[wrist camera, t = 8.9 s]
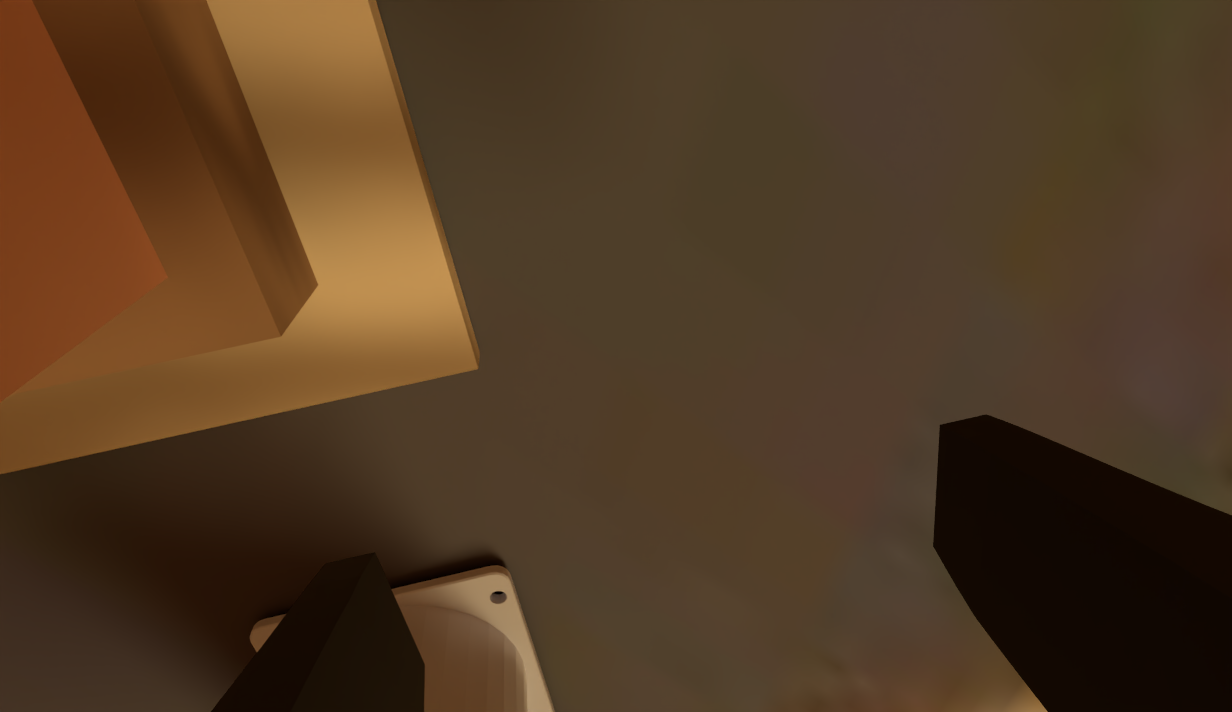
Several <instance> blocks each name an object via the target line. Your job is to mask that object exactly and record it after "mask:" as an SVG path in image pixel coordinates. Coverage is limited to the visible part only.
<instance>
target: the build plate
mask: <svg viewBox="0 0 1232 712" xmlns="http://www.w3.org/2000/svg"><path fill="white" fill-rule="evenodd" d="M206 1H207V3H208V6H209V9H210V11H211V14H212V16H213V19H214V21H215V24H216V26H217V29H218V31H219V34H220V36H221V39H222V42H223V44H224V47H225V49H226V52H227V54H228V57H229V59H230V62H231V64H232V67H233V69H234V72H235V75H236V77H237V80H238V82H239V85H240V87H241V90H242V92H243V95H244V97H245V100H246V102H247V105H248V108H249V110H250V113H251V115H252V118H253V120H254V123H255V125H256V128H257V130H258V133H259V136H260V138H261V141H262V143H263V146H264V148H265V151H266V153H267V156H268V158H269V161H270V163H271V166H272V169H273V171H274V174H275V176H276V179H277V181H278V184H279V186H280V189H281V191H282V194H283V196H284V199H285V202H286V204H287V207H288V209H289V212H290V214H291V217H292V219H293V222H294V224H295V227H296V229H297V232H298V235H299V237H300V240H301V242H302V245H303V247H304V250H305V252H306V255H307V257H308V260H309V262H310V265H311V268H312V270H313V273H314V275H315V278H316V280H317V283H318V286H317V288H316V289H315V291H314V292H313V293H312V295H311V296H310V297H309V299H308V300H307V302H306V303H305V304H304V306H303V307H302V308H301V310H300V311H299V313H298V314H297V315H296V317H295V318H294V320H293V321H292V322H291V324H290V325H289V326H288V328H287V329H286V331H285V332H284V333H283V335H282V336H281V337H277V338H273V339H268V340H263V341H259V342H254V343H249V344H245V345H240V346H236V347H231V348H226V349H222V350H217V351H212V352H208V353H203V354H198V355H194V356H189V357H184V358H180V359H175V360H170V361H166V362H161V363H157V364H152V365H147V366H143V367H138V368H133V369H129V370H124V371H119V372H115V373H110V374H105V375H101V376H96V377H91V378H87V379H82V380H78V381H73V382H68V383H64V384H59V385H54V386H50V387H45V388H40V389H36V390H31V391H26V392H22V393H17V394H12V395H10V396H8V397H7V398H5V399H4V400H3V401H1V402H0V474H4V473H9V472H13V471H18V470H22V469H27V468H31V467H36V466H40V465H45V464H49V463H54V462H59V461H63V460H68V459H72V458H77V457H81V456H86V455H90V454H95V453H99V452H104V451H108V450H113V449H117V448H122V447H126V446H131V445H136V444H140V443H145V442H149V441H154V440H158V439H163V438H167V437H172V436H176V435H181V434H185V433H190V432H194V431H199V430H204V429H208V428H213V427H217V426H222V425H226V424H231V423H235V422H240V421H244V420H249V419H253V418H258V417H262V416H267V415H272V414H276V413H281V412H285V411H290V410H294V409H299V408H303V407H308V406H312V405H317V404H321V403H326V402H330V401H335V400H339V399H344V398H349V397H353V396H358V395H362V394H367V393H371V392H376V391H380V390H385V389H389V388H394V387H398V386H403V385H407V384H412V383H417V382H421V381H426V380H430V379H435V378H439V377H444V376H448V375H453V374H457V373H462V372H466V371H471V370H475V369H478V367H479V354H480V352H479V348H478V345H477V342H476V338H475V335H474V331H473V328H472V325H471V321H470V318H469V314H468V311H467V308H466V304H465V301H464V297H463V294H462V291H461V287H460V284H459V281H458V277H457V274H456V270H455V267H454V264H453V260H452V257H451V253H450V250H449V247H448V243H447V240H446V236H445V233H444V230H443V226H442V223H441V220H440V216H439V213H438V209H437V206H436V203H435V199H434V196H433V192H432V189H431V186H430V182H429V179H428V176H427V172H426V169H425V165H424V162H423V159H422V155H421V152H420V148H419V145H418V142H417V138H416V135H415V131H414V128H413V125H412V121H411V118H410V115H409V111H408V108H407V104H406V101H405V98H404V94H403V91H402V87H401V84H400V81H399V77H398V74H397V70H396V67H395V64H394V60H393V57H392V54H391V50H390V47H389V43H388V40H387V37H386V33H385V30H384V26H383V23H382V20H381V16H380V13H379V9H378V6H377V3H376V0H206Z"/></svg>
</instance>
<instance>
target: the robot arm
mask: <svg viewBox="0 0 1232 712" xmlns="http://www.w3.org/2000/svg"><path fill="white" fill-rule="evenodd" d="M933 547H934V548H935V550H936V552H937V554H938V555H939V557H940V559H941V561H942V562H943V564H944V566H945V568H946V569H947V571H948V573H949V574H950V576H951V578H952V580H953V581H954V583H955V585H956V587H957V588H958V590H959V591H960V593H961V595H962V596H963V598H964V600H965V601H966V603H967V604H968V606H969V608H970V609H971V611H972V612H973V614H974V616H975V617H976V619H977V620H978V621H979V623H980V624H981V625H982V627H983V628H984V629H985V631H986V632H987V633H988V635H989V636H990V637H991V639H992V640H993V641H994V643H995V644H996V645H997V647H998V648H999V649H1000V650H1001V652H1002V653H1003V654H1004V656H1005V657H1006V658H1007V660H1008V661H1009V662H1010V663H1011V665H1012V666H1013V667H1014V669H1015V670H1016V671H1017V673H1018V674H1019V675H1020V677H1021V678H1022V679H1023V680H1024V682H1025V683H1026V684H1027V686H1028V687H1029V688H1030V689H1031V691H1032V692H1033V693H1034V694H1035V696H1036V697H1037V698H1038V700H1039V701H1040V702H1041V703H1042V705H1043V706H1044V707H1045V709H1046V710H1047V711H1048V712H1232V515H1229V514H1227V513H1224V512H1222V511H1219V510H1216V509H1214V508H1211V507H1209V506H1206V505H1204V504H1201V503H1199V502H1197V501H1194V500H1192V499H1189V498H1187V497H1184V496H1182V495H1179V494H1177V493H1175V492H1172V491H1170V490H1167V489H1165V488H1162V487H1160V486H1158V485H1155V484H1153V483H1150V482H1148V481H1146V480H1143V479H1141V478H1139V477H1136V476H1134V475H1132V474H1129V473H1127V472H1124V471H1122V470H1120V469H1117V468H1115V467H1113V466H1110V465H1108V464H1106V463H1103V462H1101V461H1099V460H1096V459H1094V458H1092V457H1089V456H1087V455H1085V454H1082V453H1080V452H1078V451H1075V450H1073V449H1071V448H1068V447H1066V446H1064V445H1061V444H1059V443H1057V442H1054V441H1052V440H1050V439H1047V438H1045V437H1042V436H1040V435H1038V434H1035V433H1033V432H1030V431H1028V430H1026V429H1023V428H1021V427H1018V426H1016V425H1013V424H1011V423H1008V422H1005V421H1003V420H1000V419H997V418H995V417H992V416H989V415H982V416H977V417H973V418H969V419H964V420H960V421H955V422H951V423H946V424H942V425H940V433H939V451H938V470H937V488H936V506H935V524H934V542H933ZM496 591H502V592H504V593H502V594H497V595H496V594H494V593H493V592H496ZM249 638H250V642H251V644H252V645H253V647H254V649H255V650H256V652H257V653H256V655H255V656H254V657H253V658H252V660H251V661H250V662H249V664H248V665H247V666H246V667H245V669H244V670H243V671H242V673H241V674H240V675H239V676H238V678H237V679H236V680H235V682H234V683H233V684H232V685H231V687H230V688H229V689H228V691H227V692H226V693H225V694H224V696H223V697H222V698H221V700H220V701H219V702H218V703H217V705H216V706H215V707H214V709H213V710H212V711H211V712H555V710H554V707H553V704H552V701H551V698H550V695H549V691H548V688H547V685H546V682H545V679H544V676H543V673H542V670H541V667H540V664H539V661H538V658H537V655H536V652H535V648H534V645H533V642H532V639H531V636H530V633H529V630H528V627H527V624H526V621H525V618H524V615H523V612H522V609H521V605H520V602H519V599H518V596H517V593H516V590H515V587H514V584H513V581H512V578H511V575H510V573H509V571H508V570H507V569H506V568H504V567H502V566H498V565H494V566H487V567H483V568H479V569H475V570H470V571H466V572H462V573H458V574H453V575H449V576H445V577H441V578H436V579H432V580H428V581H424V582H419V583H415V584H411V585H407V586H402V587H398V588H394V589H391V587H390V585H389V583H388V580H387V578H386V576H385V574H384V571H383V569H382V567H381V565H380V562H379V560H378V558H377V556H376V553H375V552H374V553H370V554H366V555H361V556H357V557H352V558H348V559H343V560H339V561H334V562H330V563H326V564H325V565H324V566H323V567H322V569H321V570H320V571H319V572H318V574H317V575H316V576H315V577H314V578H313V580H312V581H311V582H310V584H309V585H308V586H307V587H306V589H305V590H304V591H303V593H302V594H301V595H300V597H299V598H298V599H297V600H296V602H295V603H294V604H293V606H292V607H291V608H290V610H289V611H288V612H287V614H283V615H279V616H275V617H271V618H266V619H263V620H260V621H258V622H257V623H256V624H255V625H254V627H253V629H252V631H251V634H250V637H249Z"/></svg>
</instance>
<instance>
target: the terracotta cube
mask: <svg viewBox="0 0 1232 712" xmlns="http://www.w3.org/2000/svg"><path fill="white" fill-rule="evenodd" d="M167 278H168V276H167V274H166V272H165V270H164V268H163V266H162V264H161V262H160V260H159V258H158V256H157V254H156V252H155V250H154V248H153V246H152V244H151V242H150V240H149V237H148V235H147V233H146V231H145V229H144V227H143V225H142V223H141V221H140V219H139V217H138V215H137V213H136V211H135V209H134V207H133V205H132V203H131V201H130V199H129V197H128V195H127V193H126V191H125V189H124V187H123V185H122V183H121V180H120V178H119V176H118V174H117V172H116V170H115V168H114V166H113V164H112V162H111V160H110V158H109V156H108V154H107V152H106V150H105V148H104V146H103V144H102V142H101V140H100V138H99V136H98V134H97V132H96V130H95V128H94V125H93V123H92V121H91V119H90V117H89V115H88V113H87V111H86V109H85V107H84V105H83V103H82V101H81V99H80V97H79V95H78V93H77V91H76V89H75V87H74V85H73V83H72V81H71V79H70V77H69V75H68V73H67V71H66V68H65V66H64V64H63V62H62V60H61V58H60V56H59V54H58V52H57V50H56V48H55V46H54V44H53V42H52V40H51V38H50V36H49V34H48V32H47V30H46V28H45V26H44V24H43V22H42V20H41V18H40V16H39V14H38V11H37V9H36V7H35V5H34V3H33V1H32V0H0V402H1V401H3V400H4V399H5V398H7V397H8V396H10V395H11V394H12V393H14V392H15V391H16V390H18V389H19V388H20V387H22V386H23V385H24V384H26V383H27V382H28V381H30V380H31V379H32V378H34V377H35V376H36V375H38V374H39V373H40V372H42V371H43V370H44V369H46V368H47V367H48V366H50V365H51V364H52V363H54V362H55V361H56V360H58V359H59V358H61V357H62V356H63V355H65V354H66V353H67V352H69V351H70V350H71V349H73V348H74V347H75V346H77V345H78V344H79V343H81V342H82V341H83V340H85V339H86V338H87V337H89V336H90V335H91V334H93V333H94V332H95V331H97V330H98V329H99V328H101V327H102V326H103V325H105V324H106V323H107V322H109V321H110V320H112V319H113V318H114V317H116V316H117V315H118V314H120V313H121V312H122V311H124V310H125V309H126V308H128V307H129V306H130V305H132V304H133V303H134V302H136V301H137V300H138V299H140V298H141V297H142V296H144V295H145V294H146V293H148V292H149V291H150V290H152V289H153V288H154V287H156V286H157V285H158V284H160V283H161V282H163V281H164V280H165V279H167Z"/></svg>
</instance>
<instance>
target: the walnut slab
mask: <svg viewBox="0 0 1232 712" xmlns="http://www.w3.org/2000/svg"><path fill="white" fill-rule="evenodd" d="M32 1H33V3H34V5H35V7H36V9H37V11H38V14H39V16H40V18H41V20H42V22H43V24H44V26H45V28H46V30H47V32H48V34H49V36H50V38H51V40H52V42H53V44H54V46H55V48H56V50H57V52H58V54H59V56H60V58H61V60H62V62H63V64H64V66H65V68H66V71H67V73H68V75H69V77H70V79H71V81H72V83H73V85H74V87H75V89H76V91H77V93H78V95H79V97H80V99H81V101H82V103H83V105H84V107H85V109H86V111H87V113H88V115H89V117H90V119H91V121H92V123H93V125H94V128H95V130H96V132H97V134H98V136H99V138H100V140H101V142H102V144H103V146H104V148H105V150H106V152H107V154H108V156H109V158H110V160H111V162H112V164H113V166H114V168H115V170H116V172H117V174H118V176H119V178H120V180H121V183H122V185H123V187H124V189H125V191H126V193H127V195H128V197H129V199H130V201H131V203H132V205H133V207H134V209H135V211H136V213H137V215H138V217H139V219H140V221H141V223H142V225H143V227H144V229H145V231H146V233H147V235H148V237H149V240H150V242H151V244H152V246H153V248H154V250H155V252H156V254H157V256H158V258H159V260H160V262H161V264H162V266H163V268H164V270H165V272H166V274H167V276H168V278H167V279H165V280H164V281H163V282H161V283H160V284H158V285H157V286H156V287H154V288H153V289H152V290H150V291H149V292H148V293H146V294H145V295H144V296H142V297H141V298H140V299H138V300H137V301H136V302H134V303H133V304H132V305H130V306H129V307H128V308H126V309H125V310H124V311H122V312H121V313H120V314H118V315H117V316H116V317H114V318H113V319H112V320H110V321H109V322H107V323H106V324H105V325H103V326H102V327H101V328H99V329H98V330H97V331H95V332H94V333H93V334H91V335H90V336H89V337H87V338H86V339H85V340H83V341H82V342H81V343H79V344H78V345H77V346H75V347H74V348H73V349H71V350H70V351H69V352H67V353H66V354H65V355H63V356H62V357H61V358H59V359H58V360H56V361H55V362H54V363H52V364H51V365H50V366H48V367H47V368H46V369H44V370H43V371H42V372H40V373H39V374H38V375H36V376H35V377H34V378H32V379H31V380H30V381H28V382H27V383H26V384H24V385H23V386H22V387H20V388H19V389H18V390H16V391H15V392H14V393H12V394H17V393H22V392H26V391H31V390H36V389H40V388H45V387H50V386H54V385H59V384H64V383H68V382H73V381H78V380H82V379H87V378H91V377H96V376H101V375H105V374H110V373H115V372H119V371H124V370H129V369H133V368H138V367H143V366H147V365H152V364H157V363H161V362H166V361H170V360H175V359H180V358H184V357H189V356H194V355H198V354H203V353H208V352H212V351H217V350H222V349H226V348H231V347H236V346H240V345H245V344H249V343H254V342H259V341H263V340H268V339H273V338H277V337H281V336H282V335H283V333H284V332H285V331H286V329H287V328H288V326H289V325H290V324H291V322H292V321H293V320H294V318H295V317H296V315H297V314H298V313H299V311H300V310H301V308H302V307H303V306H304V304H305V303H306V302H307V300H308V299H309V297H310V296H311V295H312V293H313V292H314V291H315V289H316V288H317V286H318V283H317V280H316V278H315V275H314V273H313V270H312V268H311V265H310V262H309V260H308V257H307V255H306V252H305V250H304V247H303V245H302V242H301V240H300V237H299V235H298V232H297V229H296V227H295V224H294V222H293V219H292V217H291V214H290V212H289V209H288V207H287V204H286V202H285V199H284V196H283V194H282V191H281V189H280V186H279V184H278V181H277V179H276V176H275V174H274V171H273V169H272V166H271V163H270V161H269V158H268V156H267V153H266V151H265V148H264V146H263V143H262V141H261V138H260V136H259V133H258V130H257V128H256V125H255V123H254V120H253V118H252V115H251V113H250V110H249V108H248V105H247V102H246V100H245V97H244V95H243V92H242V90H241V87H240V85H239V82H238V80H237V77H236V75H235V72H234V69H233V67H232V64H231V62H230V59H229V57H228V54H227V52H226V49H225V47H224V44H223V42H222V39H221V36H220V34H219V31H218V29H217V26H216V24H215V21H214V19H213V16H212V14H211V11H210V9H209V6H208V3H207V1H206V0H32ZM12 394H11V395H12Z"/></svg>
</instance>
